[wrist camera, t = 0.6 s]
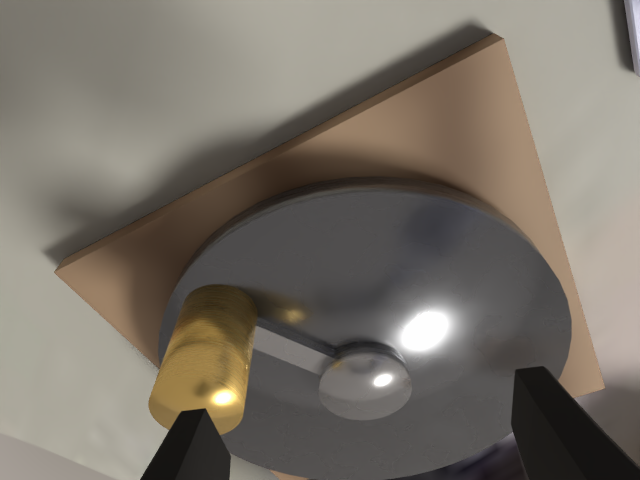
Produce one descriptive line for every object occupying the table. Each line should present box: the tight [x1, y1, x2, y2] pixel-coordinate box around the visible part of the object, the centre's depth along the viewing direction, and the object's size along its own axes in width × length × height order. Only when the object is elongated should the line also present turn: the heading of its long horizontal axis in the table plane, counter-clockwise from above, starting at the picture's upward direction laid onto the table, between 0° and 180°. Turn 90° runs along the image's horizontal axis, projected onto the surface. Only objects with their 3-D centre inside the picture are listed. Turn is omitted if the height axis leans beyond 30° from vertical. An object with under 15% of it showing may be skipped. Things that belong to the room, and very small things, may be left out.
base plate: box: [54, 33, 605, 480], centre depth 23 cm, size 20×20×1 cm
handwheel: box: [149, 176, 572, 480], centre depth 19 cm, size 18×18×6 cm
